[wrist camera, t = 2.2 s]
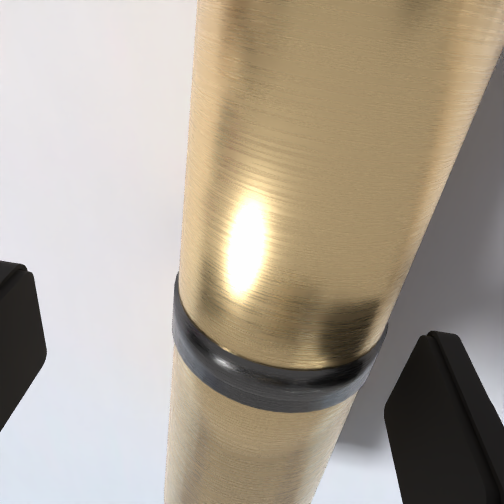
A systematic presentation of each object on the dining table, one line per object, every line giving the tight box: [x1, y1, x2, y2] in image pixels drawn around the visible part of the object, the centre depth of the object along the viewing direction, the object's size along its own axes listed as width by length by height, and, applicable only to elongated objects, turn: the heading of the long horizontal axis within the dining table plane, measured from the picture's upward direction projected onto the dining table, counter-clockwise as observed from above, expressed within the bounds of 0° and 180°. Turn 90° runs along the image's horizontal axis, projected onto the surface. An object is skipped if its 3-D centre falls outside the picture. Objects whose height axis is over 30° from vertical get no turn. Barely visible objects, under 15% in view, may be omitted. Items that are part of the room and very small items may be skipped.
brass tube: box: [164, 0, 504, 504], centre depth 13 cm, size 20×6×6 cm, turn 171°
